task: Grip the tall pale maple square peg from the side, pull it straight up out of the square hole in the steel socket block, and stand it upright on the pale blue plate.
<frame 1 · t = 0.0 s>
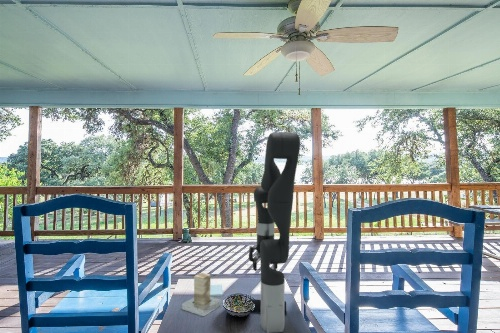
hand: (265, 270, 124), 17 cm above the table, tool pointing down, fingers open, 8 cm apart
pipe connector: (268, 309, 126), on the table
maple peg: (202, 291, 126), in the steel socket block
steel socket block: (202, 307, 126), on the table
pale blue plate: (210, 291, 144), on the table
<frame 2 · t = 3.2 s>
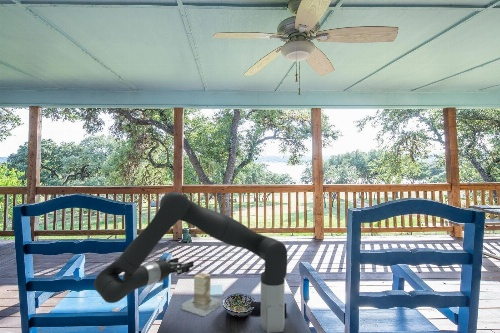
hand: (185, 262, 118), 22 cm above the table, tool horizontal, fingers open, 8 cm apart
pipe connector: (268, 311, 124), on the table
everything else where it was.
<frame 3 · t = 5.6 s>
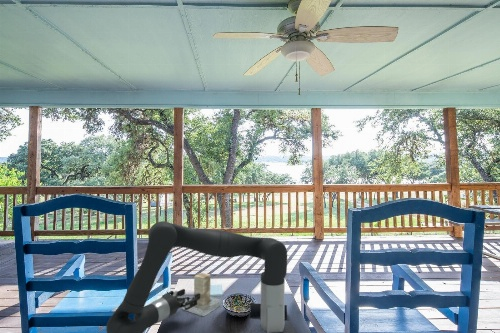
hand: (191, 293, 121), 8 cm above the table, tool horizontal, fingers open, 8 cm apart
pipe connector: (268, 313, 122), on the table
everything else where it was.
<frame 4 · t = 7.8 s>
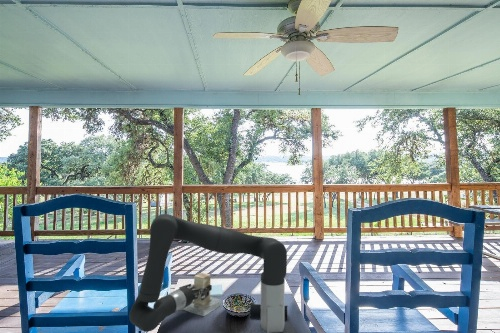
hand: (206, 285, 129), 9 cm above the table, tool horizontal, fingers closed on maple peg, 5 cm apart
maple peg: (202, 291, 126), in the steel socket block, touching gripper
everything else where it was.
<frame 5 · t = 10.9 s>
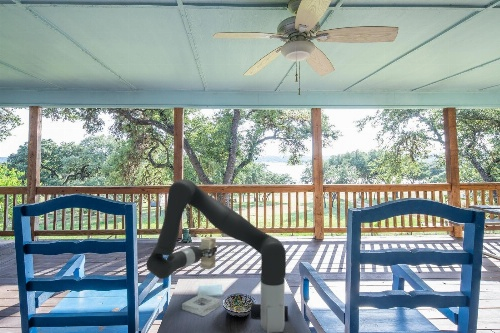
hand: (211, 248, 142), 22 cm above the table, tool horizontal, fingers closed on maple peg, 5 cm apart
maple peg: (208, 252, 140), point 20 cm above the table, touching gripper
everything else where it was.
when the fingers open (10 cm above the table, at t = 14.0 s): maple peg stays where it is, resting on pale blue plate.
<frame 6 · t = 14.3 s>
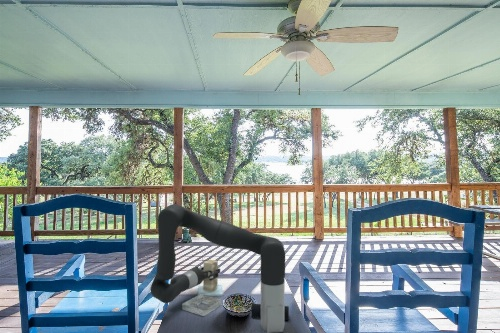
hand: (213, 269, 146), 10 cm above the table, tool horizontal, fingers open, 8 cm apart
maple peg: (210, 275, 144), on the pale blue plate, point 8 cm above the table
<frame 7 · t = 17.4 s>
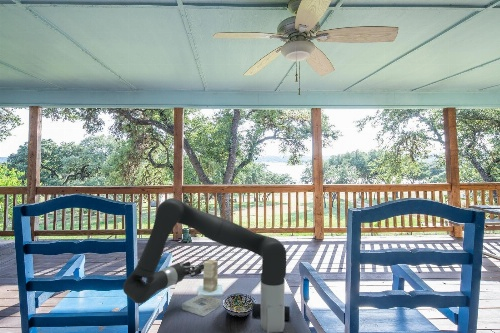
hand: (196, 265, 135), 16 cm above the table, tool horizontal, fingers open, 8 cm apart
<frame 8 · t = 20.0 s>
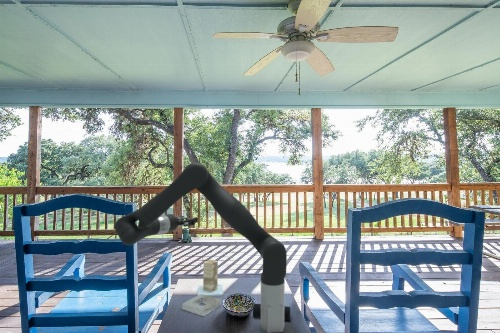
hand: (190, 219, 132), 38 cm above the table, tool horizontal, fingers open, 8 cm apart
at the end: maple peg 0.0 cm off-centre on the pale blue plate, point 7.8 cm above the pale blue plate's base; maple peg tilted 0°; the gripper is holding nothing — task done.
